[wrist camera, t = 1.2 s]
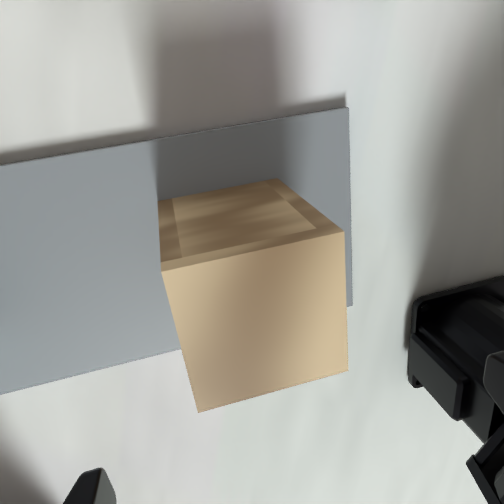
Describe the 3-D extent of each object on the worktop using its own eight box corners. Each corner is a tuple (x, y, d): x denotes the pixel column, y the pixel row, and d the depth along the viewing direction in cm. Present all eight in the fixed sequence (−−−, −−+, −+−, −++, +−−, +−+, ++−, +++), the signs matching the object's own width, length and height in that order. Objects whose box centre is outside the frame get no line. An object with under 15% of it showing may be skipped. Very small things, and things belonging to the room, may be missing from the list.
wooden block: (277, 178, 17) (344, 231, 11) (287, 281, 19) (347, 370, 13) (157, 201, 16) (161, 271, 10) (183, 305, 18) (198, 413, 12)
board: (344, 106, 17) (348, 107, 16) (349, 301, 21) (352, 305, 21) (-321, 218, 13) (-334, 222, 13) (-150, 427, 17) (-156, 434, 17)
